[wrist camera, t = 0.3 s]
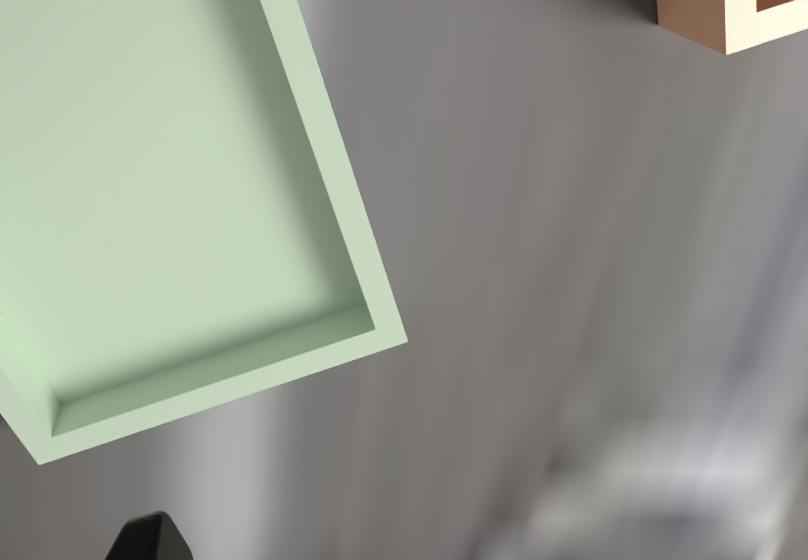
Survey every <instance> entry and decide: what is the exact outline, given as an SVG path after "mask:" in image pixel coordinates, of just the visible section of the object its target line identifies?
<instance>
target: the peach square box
mask: <svg viewBox="0 0 808 560" xmlns="http://www.w3.org/2000/svg"><path fill="white" fill-rule="evenodd" d="M657 11H658V24H659V26H660V27H662V28H664V29H667V30H669V31H672V32H674V33H676V34H679V35H681V36H683V37H686V38H688V39H690V40H693V41H695V42H697V43H700V44H702V45H704V46H707V47H709V48H711V49H714V50H716V51H718V52H721V53H723V54H725V55H728V54H731V53H734V52H737V51H740V50H743V49H746V48H749V47H752V46H755V45H758V44H761V43H764V42H767V41H770V40H773V39H777V38H780V37H783V36H786V35H789V34H792V33H795V32H798V31H801V30H804V29H807V28H808V0H657Z"/></svg>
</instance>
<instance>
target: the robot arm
mask: <svg viewBox="0 0 808 560" xmlns="http://www.w3.org/2000/svg"><path fill="white" fill-rule="evenodd" d="M105 560H193V556H192V553H191V551H190V548H189V547H188V545H187V543H186V542H185V540H184V538H183V537H182V535H181V534H180V532H179V530H178V529H177V527H176V525H175V524H174V522H173V521H172V519H171V517H170V516H169V515H168V514H167V513H166V512H165V511H162V510H161V511H155V512H152V513H148V514H144V515H141V516H137V517H134V518H132V519H130V520H129V521H127V522H126V523H125V525H124V526H123V528H122V529H121V531H120V533H119V535H118V537H117V538H116V540H115V542H114V544H113V546H112V548H111V549H110V551H109V553H108V555H107V557H106V559H105Z"/></svg>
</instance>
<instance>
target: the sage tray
mask: <svg viewBox="0 0 808 560" xmlns="http://www.w3.org/2000/svg"><path fill="white" fill-rule="evenodd" d="M405 342H408V340H407V337H406V334H405V331H404V328H403V325H402V322H401V318H400V315H399V312H398V309H397V306H396V303H395V300H394V297H393V294H392V291H391V288H390V285H389V282H388V279H387V275H386V272H385V269H384V266H383V263H382V260H381V257H380V254H379V251H378V248H377V245H376V242H375V239H374V235H373V232H372V229H371V226H370V223H369V220H368V217H367V214H366V211H365V208H364V205H363V202H362V199H361V196H360V192H359V189H358V186H357V183H356V180H355V177H354V174H353V171H352V168H351V165H350V162H349V159H348V156H347V152H346V149H345V146H344V143H343V140H342V137H341V134H340V131H339V128H338V125H337V122H336V119H335V116H334V113H333V109H332V106H331V103H330V100H329V97H328V94H327V91H326V88H325V85H324V82H323V79H322V76H321V73H320V70H319V66H318V63H317V60H316V57H315V54H314V51H313V48H312V45H311V42H310V39H309V36H308V33H307V30H306V26H305V23H304V20H303V17H302V14H301V11H300V8H299V5H298V2H297V0H0V413H1V415H2V416H3V417H4V419H5V420H6V421H7V423H8V424H9V425H10V427H11V428H12V430H13V431H14V432H15V434H16V435H17V436H18V438H19V439H20V440H21V442H22V443H23V444H24V446H25V447H26V448H27V450H28V451H29V452H30V454H31V455H32V456H33V458H34V459H35V460H36V462H37V463H38V464H39V465H41V464H44V463H47V462H50V461H53V460H56V459H59V458H62V457H65V456H68V455H71V454H74V453H77V452H80V451H83V450H86V449H89V448H92V447H95V446H98V445H101V444H104V443H107V442H110V441H113V440H115V439H118V438H121V437H124V436H127V435H130V434H133V433H136V432H139V431H142V430H145V429H148V428H151V427H154V426H157V425H160V424H163V423H166V422H169V421H172V420H175V419H178V418H181V417H184V416H187V415H190V414H193V413H196V412H199V411H202V410H205V409H208V408H211V407H214V406H217V405H220V404H223V403H226V402H229V401H232V400H235V399H238V398H241V397H244V396H247V395H250V394H253V393H256V392H259V391H262V390H265V389H268V388H271V387H274V386H277V385H280V384H283V383H286V382H289V381H292V380H295V379H298V378H301V377H304V376H307V375H310V374H313V373H316V372H319V371H322V370H325V369H328V368H331V367H334V366H337V365H340V364H343V363H346V362H349V361H352V360H355V359H358V358H361V357H364V356H367V355H370V354H373V353H376V352H379V351H382V350H385V349H388V348H391V347H394V346H397V345H400V344H403V343H405Z"/></svg>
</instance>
